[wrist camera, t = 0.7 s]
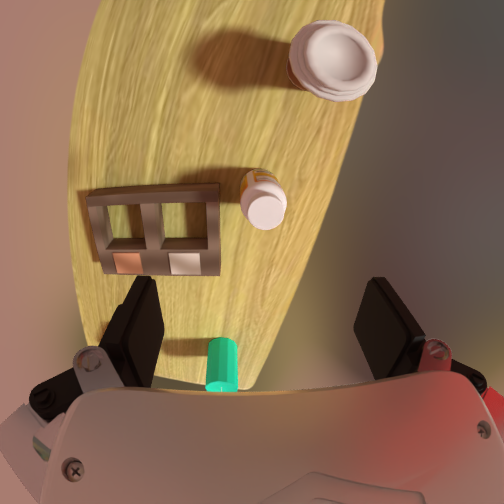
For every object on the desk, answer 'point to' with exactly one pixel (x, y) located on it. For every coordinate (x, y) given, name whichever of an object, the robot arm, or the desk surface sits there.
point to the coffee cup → (331, 61)
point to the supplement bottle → (262, 199)
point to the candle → (222, 366)
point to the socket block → (156, 232)
